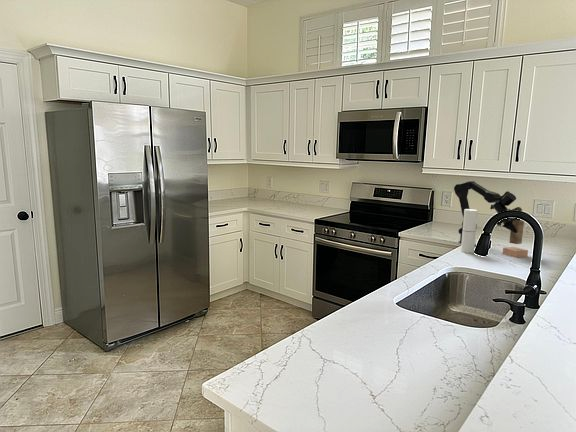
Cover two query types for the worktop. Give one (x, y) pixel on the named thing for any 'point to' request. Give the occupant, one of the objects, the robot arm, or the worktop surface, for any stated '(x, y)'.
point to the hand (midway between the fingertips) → (518, 232)
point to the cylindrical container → (469, 230)
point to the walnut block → (517, 237)
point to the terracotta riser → (515, 252)
